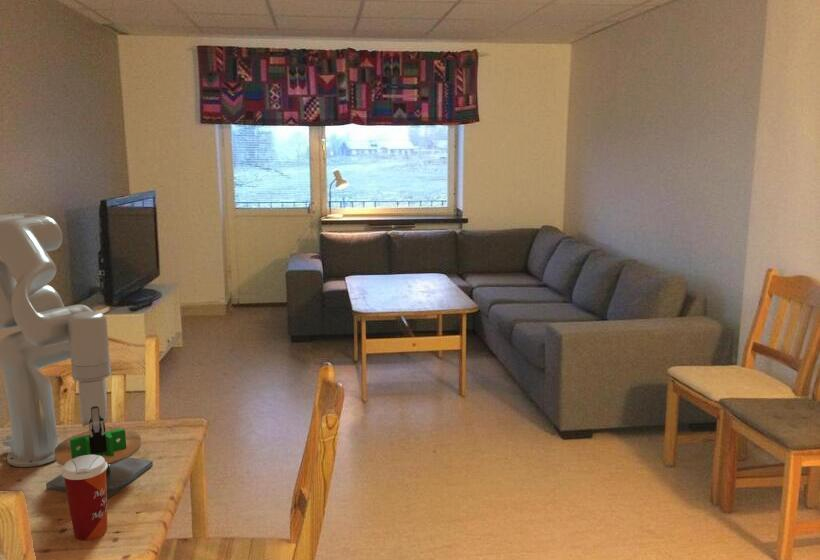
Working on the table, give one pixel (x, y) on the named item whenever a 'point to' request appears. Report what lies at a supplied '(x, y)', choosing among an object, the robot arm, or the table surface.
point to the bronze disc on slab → (118, 465)
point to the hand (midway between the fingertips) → (98, 443)
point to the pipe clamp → (110, 442)
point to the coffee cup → (87, 495)
